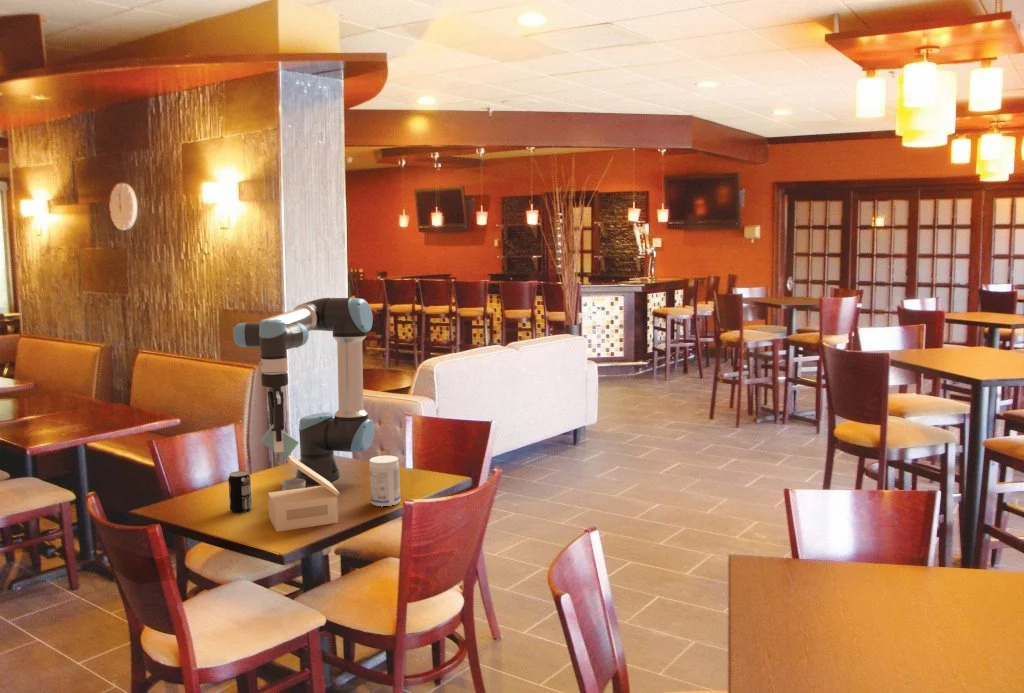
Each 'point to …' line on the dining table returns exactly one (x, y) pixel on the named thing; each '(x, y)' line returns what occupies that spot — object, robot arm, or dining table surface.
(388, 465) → the supplement tub
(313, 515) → the carton
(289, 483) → the cup
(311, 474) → the flap
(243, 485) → the beverage can
